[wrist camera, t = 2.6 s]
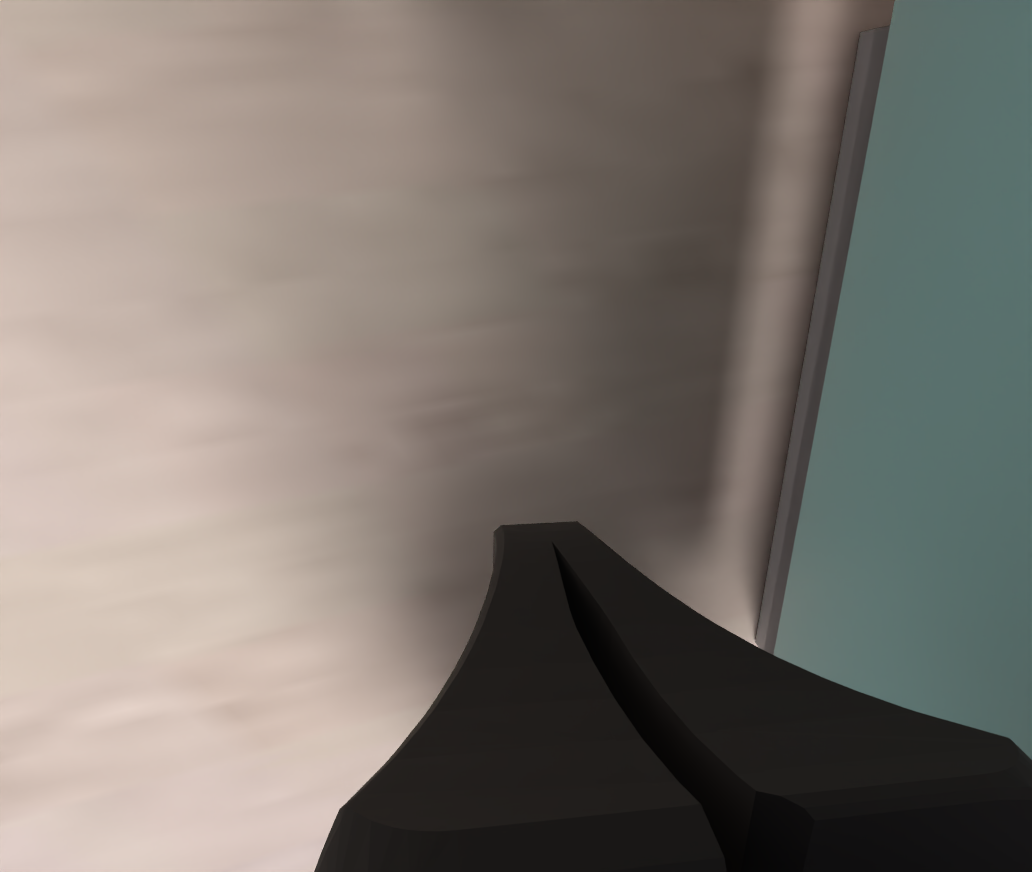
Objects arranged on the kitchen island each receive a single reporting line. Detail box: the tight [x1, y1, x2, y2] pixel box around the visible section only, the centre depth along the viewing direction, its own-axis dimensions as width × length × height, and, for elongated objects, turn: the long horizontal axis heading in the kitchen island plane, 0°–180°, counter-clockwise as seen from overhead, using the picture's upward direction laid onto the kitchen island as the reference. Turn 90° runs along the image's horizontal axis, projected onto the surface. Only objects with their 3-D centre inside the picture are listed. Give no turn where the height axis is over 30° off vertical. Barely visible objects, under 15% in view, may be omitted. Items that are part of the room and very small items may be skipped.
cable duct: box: [755, 26, 890, 655], centre depth 20 cm, size 18×10×4 cm, turn 179°
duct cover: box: [774, 0, 1032, 760], centre depth 12 cm, size 18×11×1 cm
